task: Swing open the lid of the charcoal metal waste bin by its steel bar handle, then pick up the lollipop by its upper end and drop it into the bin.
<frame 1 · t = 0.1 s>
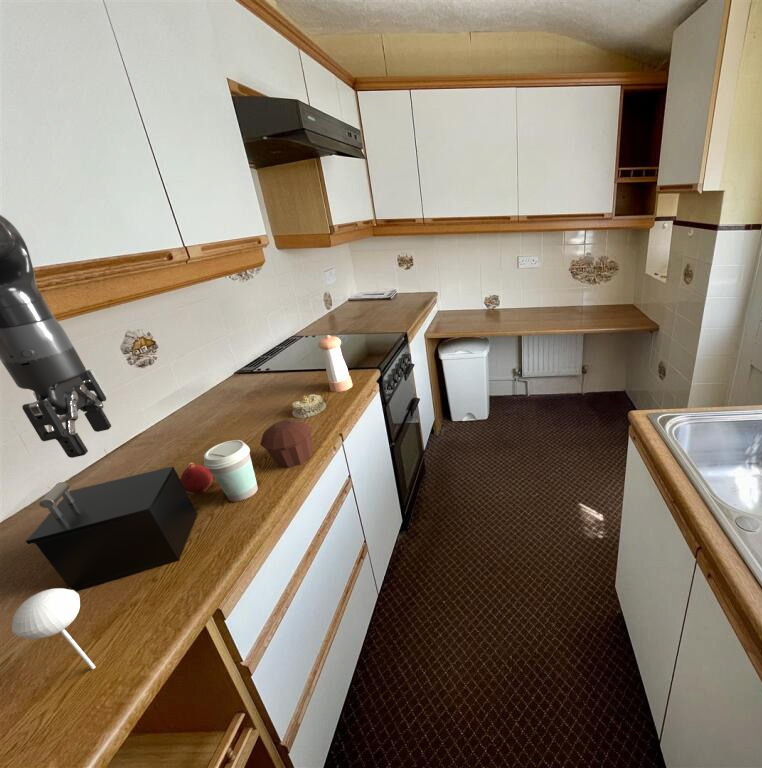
hand: (92, 442, 68), 25 cm above the counter, tool pointing down, fingers open, 8 cm apart
onion: (203, 492, 94), on the counter
cake: (310, 410, 128), on the counter
pepper shaker: (341, 387, 142), on the counter
muffin: (294, 458, 105), on the counter
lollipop: (94, 668, 59), on the counter
bin lid: (102, 491, 73), point 14 cm above the counter, hinge at 0.0°
bin: (141, 549, 79), on the counter
coffee cup: (243, 493, 93), on the counter
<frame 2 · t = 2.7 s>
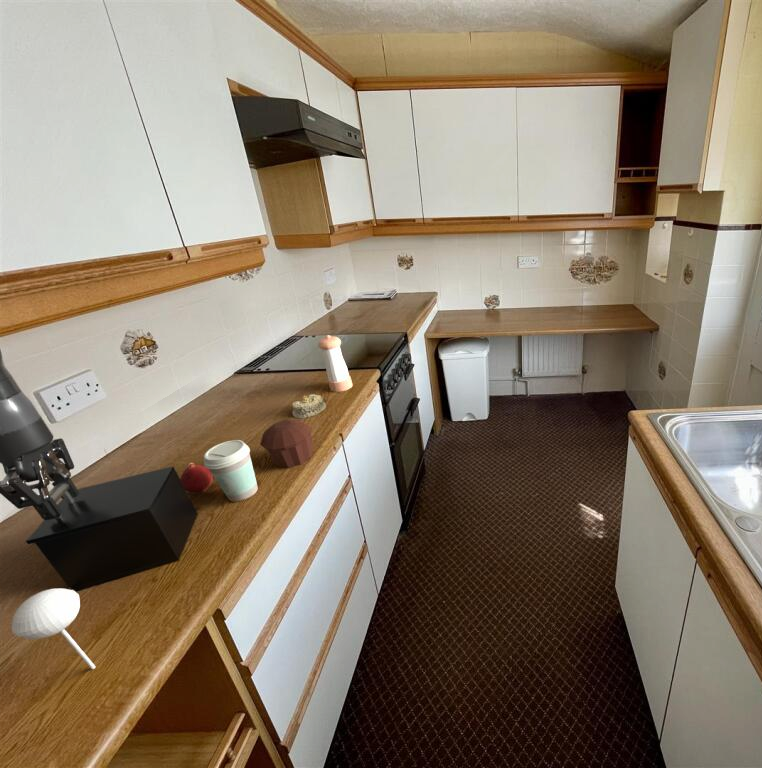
hand: (62, 506, 71), 13 cm above the counter, tool pointing down, fingers closed on bin lid, 5 cm apart
bin lid: (102, 491, 73), point 14 cm above the counter, hinge at 0.0°, touching gripper
everything else where it was.
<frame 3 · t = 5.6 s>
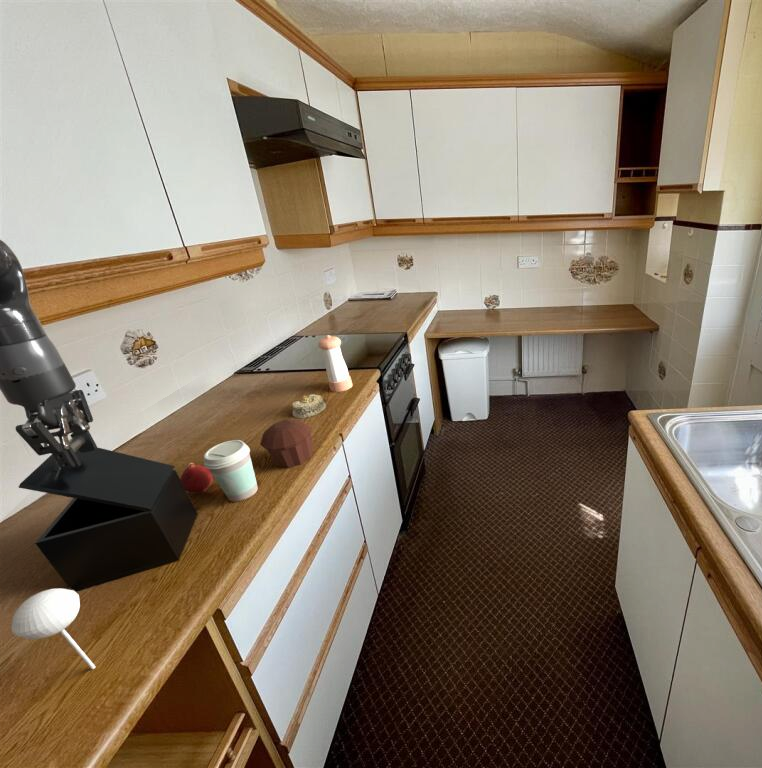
hand: (81, 458, 70), 22 cm above the counter, tool pointing down, fingers closed on bin lid, 5 cm apart
bin lid: (112, 465, 72), point 19 cm above the counter, hinge at 38.8°, touching gripper
everything else where it was.
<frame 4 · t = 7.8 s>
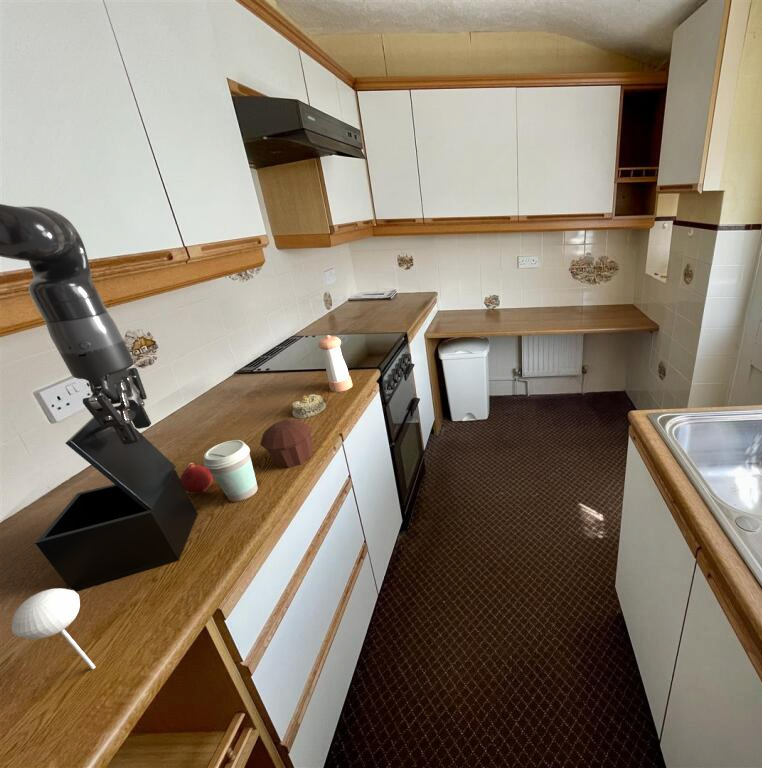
hand: (138, 434, 72), 24 cm above the counter, tool pointing down, fingers closed on bin lid, 5 cm apart
bin lid: (140, 450, 73), point 21 cm above the counter, hinge at 73.3°, touching gripper
everything else where it was.
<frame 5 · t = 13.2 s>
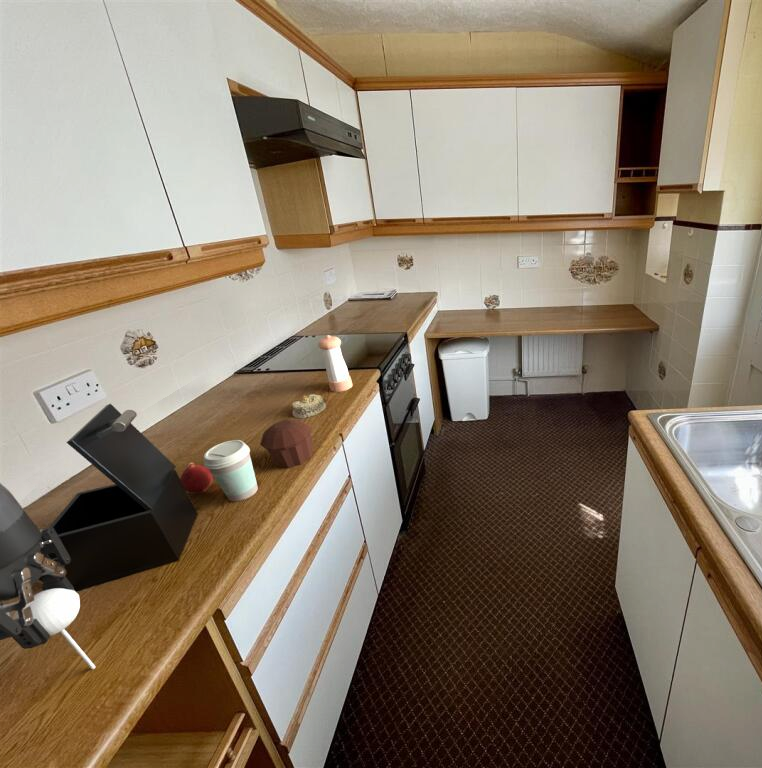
hand: (53, 620, 54), 11 cm above the counter, tool pointing down, fingers closed on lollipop, 6 cm apart
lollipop: (94, 668, 59), on the counter, touching gripper
bin lid: (141, 450, 73), point 21 cm above the counter, hinge at 74.0°
everything else where it was.
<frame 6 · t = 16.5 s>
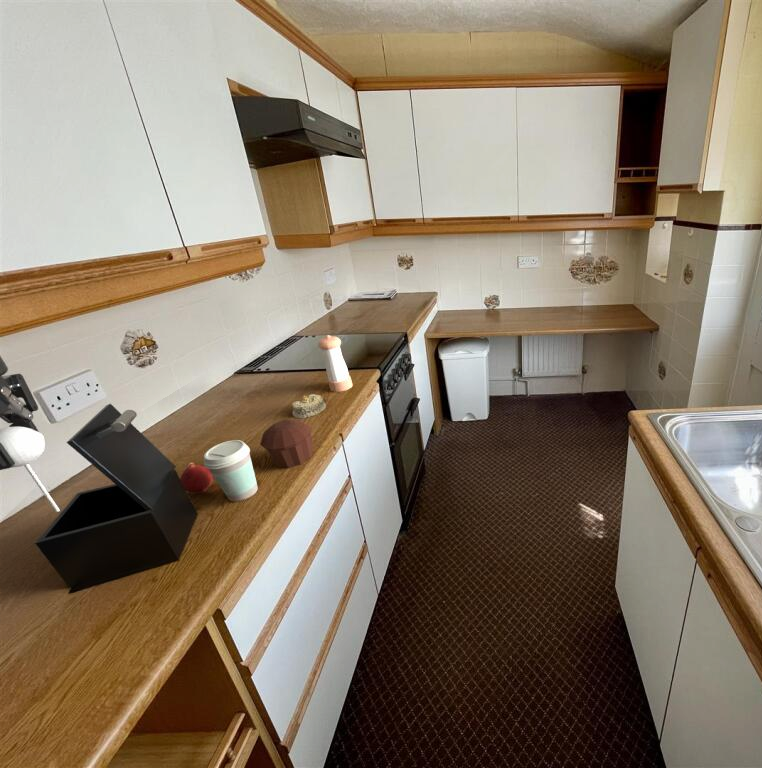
hand: (19, 455, 59), 28 cm above the counter, tool pointing down, fingers closed on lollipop, 6 cm apart
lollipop: (58, 512, 64), point 17 cm above the counter, touching gripper
everything else where it was.
when the fingers open (20 cm above the counter, at t = 20.0 s): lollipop drops 9 cm, resting on bin.
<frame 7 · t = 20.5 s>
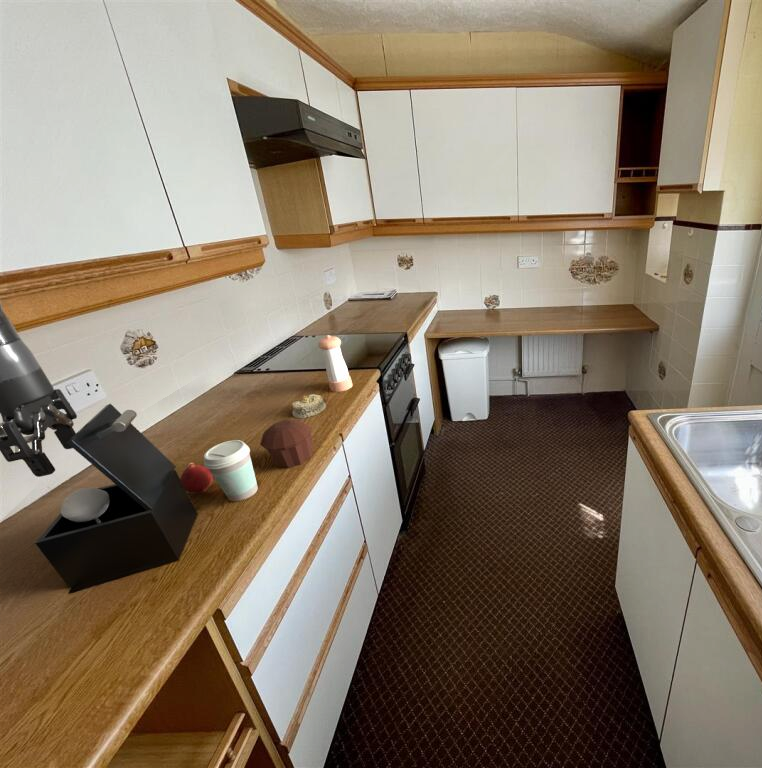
hand: (61, 460, 69), 22 cm above the counter, tool pointing down, fingers open, 8 cm apart
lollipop: (120, 552, 78), point 1 cm above the counter, touching bin
everything else where it was.
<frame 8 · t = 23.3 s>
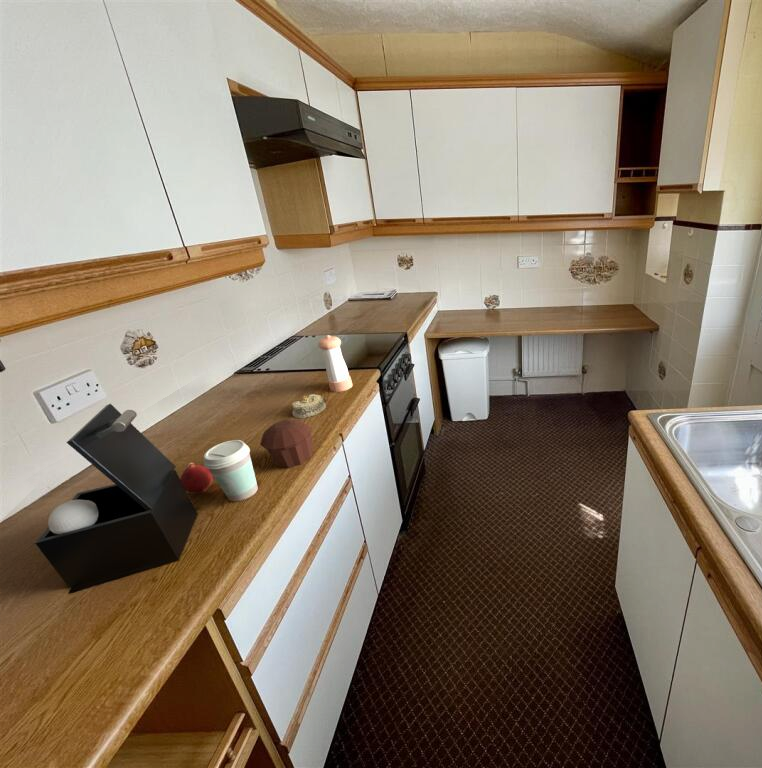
at the end: bin lid at +74° (first picture: +0°); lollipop inside the target area in the bin (3.1 cm from its centre), point 0.7 cm above the bin's base; the gripper is holding nothing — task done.
